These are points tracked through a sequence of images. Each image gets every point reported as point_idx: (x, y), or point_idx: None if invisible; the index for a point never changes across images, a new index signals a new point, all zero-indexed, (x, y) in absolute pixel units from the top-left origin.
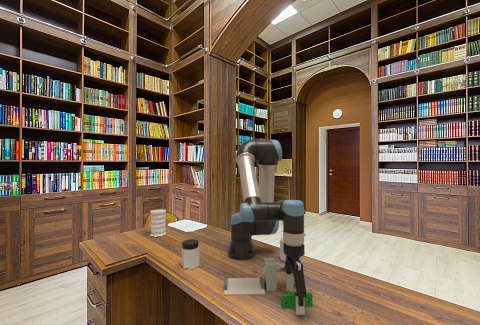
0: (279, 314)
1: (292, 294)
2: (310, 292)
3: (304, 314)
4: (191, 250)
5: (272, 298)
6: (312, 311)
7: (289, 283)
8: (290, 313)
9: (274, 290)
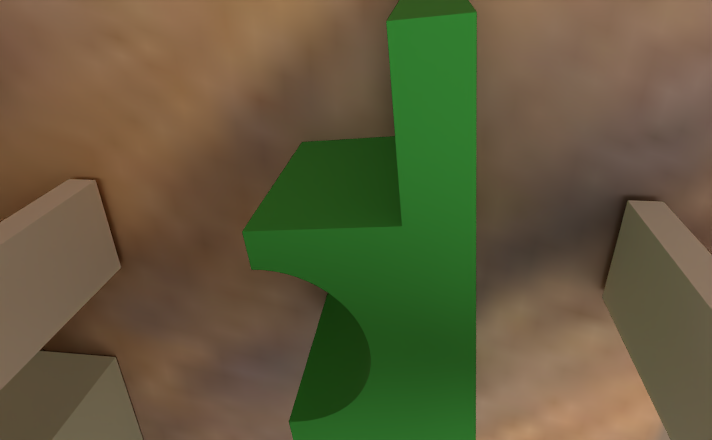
0: (553, 434)
1: (441, 413)
2: (398, 42)
3: (665, 206)
4: None
5: (274, 425)
6: (590, 40)
7: (28, 306)
8: (562, 338)
9: (122, 380)
